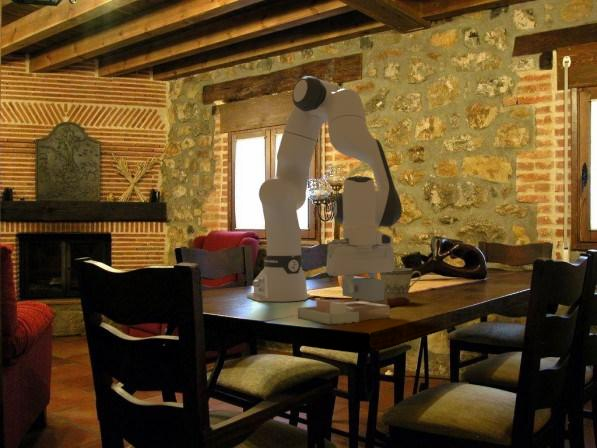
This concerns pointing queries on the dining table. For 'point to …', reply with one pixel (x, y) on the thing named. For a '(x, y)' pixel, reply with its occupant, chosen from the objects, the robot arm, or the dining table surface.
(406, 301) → the gavel
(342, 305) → the tile
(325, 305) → the tile
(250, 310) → the dining table surface
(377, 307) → the pale flat square block
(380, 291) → the small grey box
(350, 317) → the tray
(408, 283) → the ceramic cup
